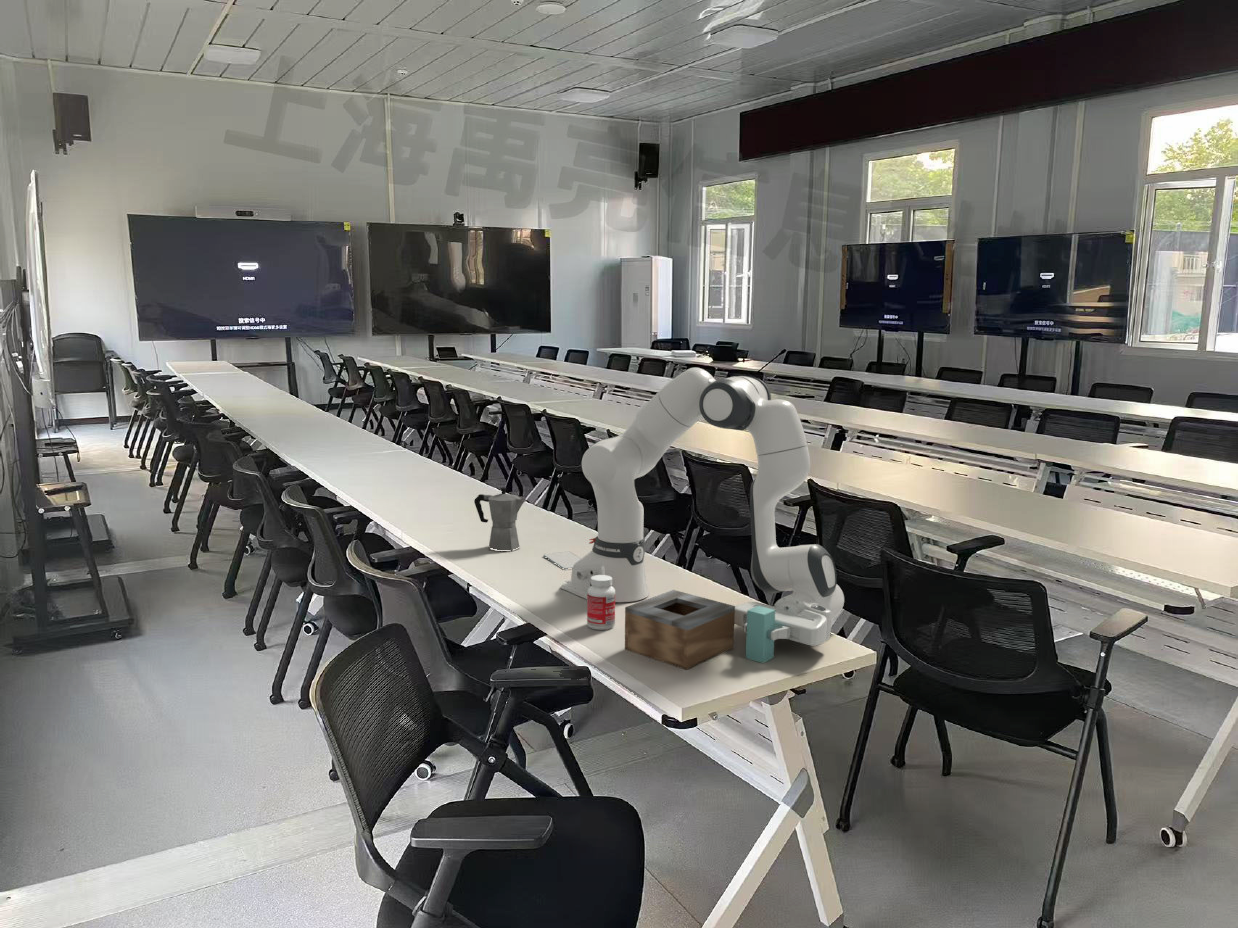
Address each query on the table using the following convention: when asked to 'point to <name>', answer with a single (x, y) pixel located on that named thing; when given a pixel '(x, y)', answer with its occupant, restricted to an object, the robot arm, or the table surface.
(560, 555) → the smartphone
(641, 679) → the table surface
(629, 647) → the drop box
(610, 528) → the robot arm
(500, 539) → the coffeepot
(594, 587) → the pill bottle
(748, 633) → the block
